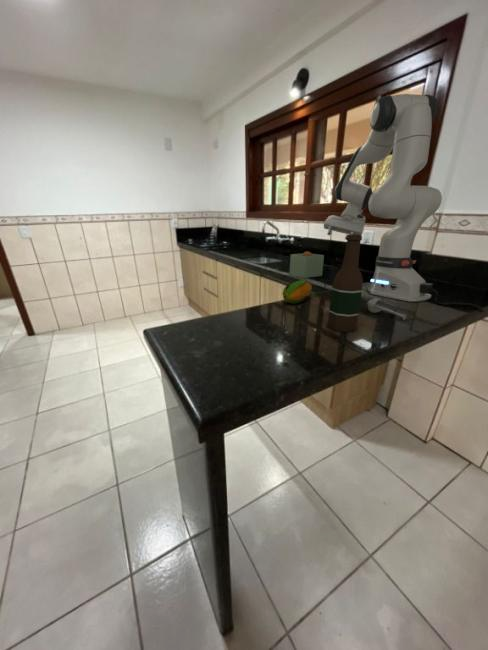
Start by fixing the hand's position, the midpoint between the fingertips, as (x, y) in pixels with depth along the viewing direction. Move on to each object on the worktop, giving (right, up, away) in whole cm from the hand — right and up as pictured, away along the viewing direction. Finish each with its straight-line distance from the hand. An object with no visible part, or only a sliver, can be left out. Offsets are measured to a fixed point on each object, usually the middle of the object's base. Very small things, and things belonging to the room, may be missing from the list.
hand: (337, 236), depth 135 cm
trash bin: (-14, -18, +9) cm, 25 cm away
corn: (-28, -37, -38) cm, 60 cm away
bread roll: (-14, -18, +8) cm, 24 cm away
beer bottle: (-21, -46, -63) cm, 81 cm away
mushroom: (-4, -43, -53) cm, 68 cm away
